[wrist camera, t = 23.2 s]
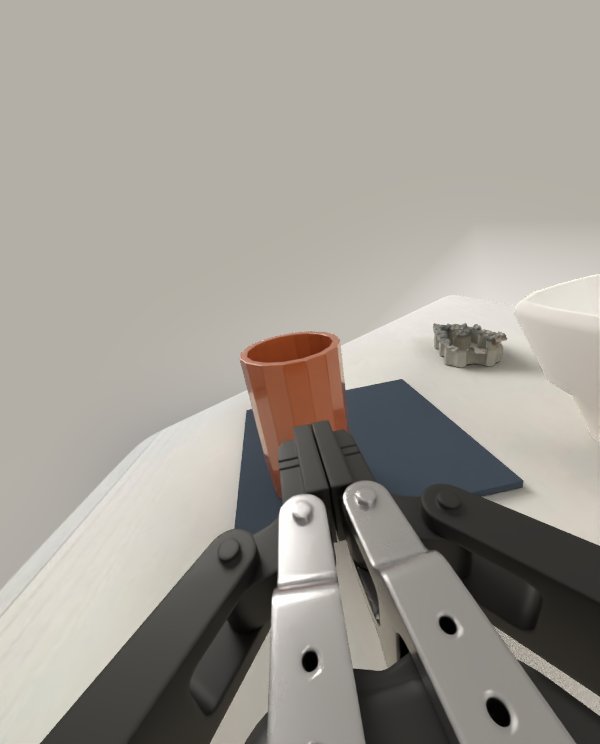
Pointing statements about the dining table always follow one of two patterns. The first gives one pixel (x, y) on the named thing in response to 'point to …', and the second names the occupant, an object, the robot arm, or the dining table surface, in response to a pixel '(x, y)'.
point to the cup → (294, 388)
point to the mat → (384, 452)
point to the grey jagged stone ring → (468, 344)
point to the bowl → (568, 340)
